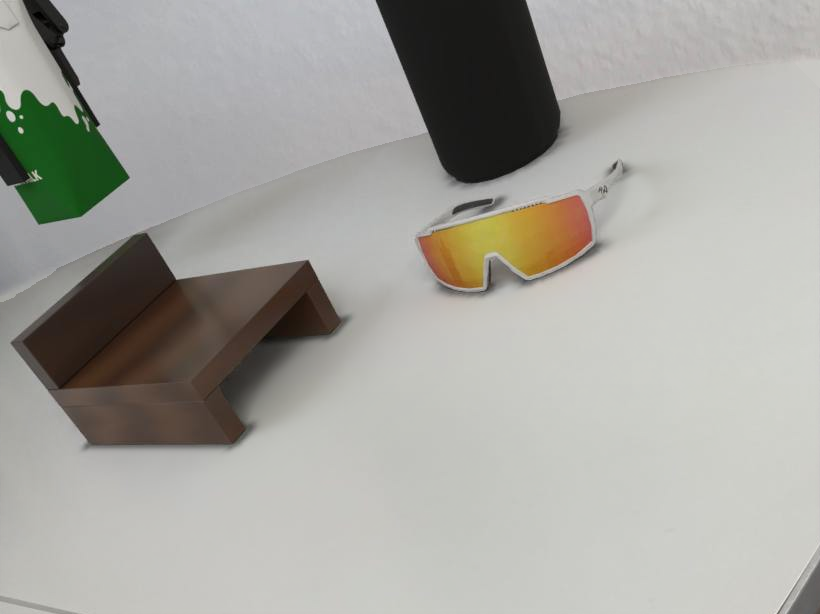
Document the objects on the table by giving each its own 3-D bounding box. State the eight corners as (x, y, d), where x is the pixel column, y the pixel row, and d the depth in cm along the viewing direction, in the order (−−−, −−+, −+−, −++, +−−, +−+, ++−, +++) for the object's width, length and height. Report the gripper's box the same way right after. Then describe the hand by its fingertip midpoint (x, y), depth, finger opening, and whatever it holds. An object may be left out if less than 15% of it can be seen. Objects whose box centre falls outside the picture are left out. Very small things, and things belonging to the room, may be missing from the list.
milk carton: (27, 231, 94) (-134, 3, 81) (89, 183, 98) (-53, -41, 85) (80, 222, 89) (-82, -23, 76) (143, 171, 93) (1, -69, 80)
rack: (90, 444, 75) (9, 342, 69) (198, 335, 82) (133, 234, 76) (232, 444, 66) (153, 326, 60) (341, 321, 73) (280, 205, 67)
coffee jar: (510, 121, 89) (430, -112, 77) (591, 121, 81) (516, -138, 69) (424, 184, 86) (327, -47, 74) (499, 190, 78) (404, -66, 66)
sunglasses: (410, 312, 69) (382, 241, 66) (479, 233, 79) (458, 169, 76) (603, 268, 62) (582, 188, 59) (650, 189, 73) (634, 117, 70)
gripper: (-227, -96, 68) (-5, 212, 83) (-8, -196, 79) (153, 92, 94) (-270, -65, 73) (-52, 222, 87) (-56, -165, 83) (105, 106, 98)
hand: (54, 154), depth 91 cm, fingers closed on milk carton, 9 cm apart
